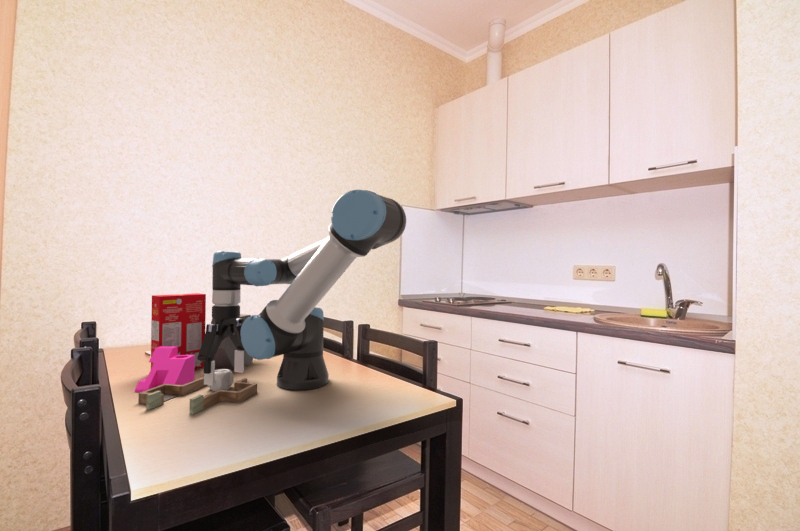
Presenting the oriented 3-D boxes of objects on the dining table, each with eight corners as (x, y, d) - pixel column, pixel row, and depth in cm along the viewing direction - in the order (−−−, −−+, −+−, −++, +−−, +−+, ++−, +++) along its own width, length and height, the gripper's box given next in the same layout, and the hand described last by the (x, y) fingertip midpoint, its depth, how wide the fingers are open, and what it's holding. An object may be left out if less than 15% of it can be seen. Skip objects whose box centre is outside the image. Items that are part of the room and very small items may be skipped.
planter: (245, 344, 153) (226, 301, 142) (263, 346, 151) (245, 302, 140) (219, 379, 139) (197, 334, 128) (239, 381, 138) (218, 336, 126)
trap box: (264, 388, 115) (264, 376, 115) (213, 416, 94) (214, 401, 94) (191, 382, 120) (191, 370, 120) (127, 407, 99) (127, 393, 99)
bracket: (160, 380, 122) (160, 346, 122) (194, 380, 123) (194, 346, 123) (134, 392, 110) (135, 355, 110) (172, 393, 111) (173, 355, 111)
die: (221, 392, 112) (221, 374, 112) (206, 390, 113) (207, 372, 113) (234, 387, 116) (234, 369, 116) (220, 385, 118) (220, 368, 118)
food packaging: (196, 365, 140) (197, 293, 140) (204, 367, 137) (205, 294, 137) (150, 374, 128) (151, 295, 128) (158, 377, 125) (159, 296, 125)
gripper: (240, 300, 130) (239, 366, 130) (183, 308, 105) (181, 389, 105) (261, 301, 128) (260, 368, 128) (208, 309, 104) (207, 392, 104)
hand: (224, 378), depth 117 cm, fingers open, 13 cm apart
